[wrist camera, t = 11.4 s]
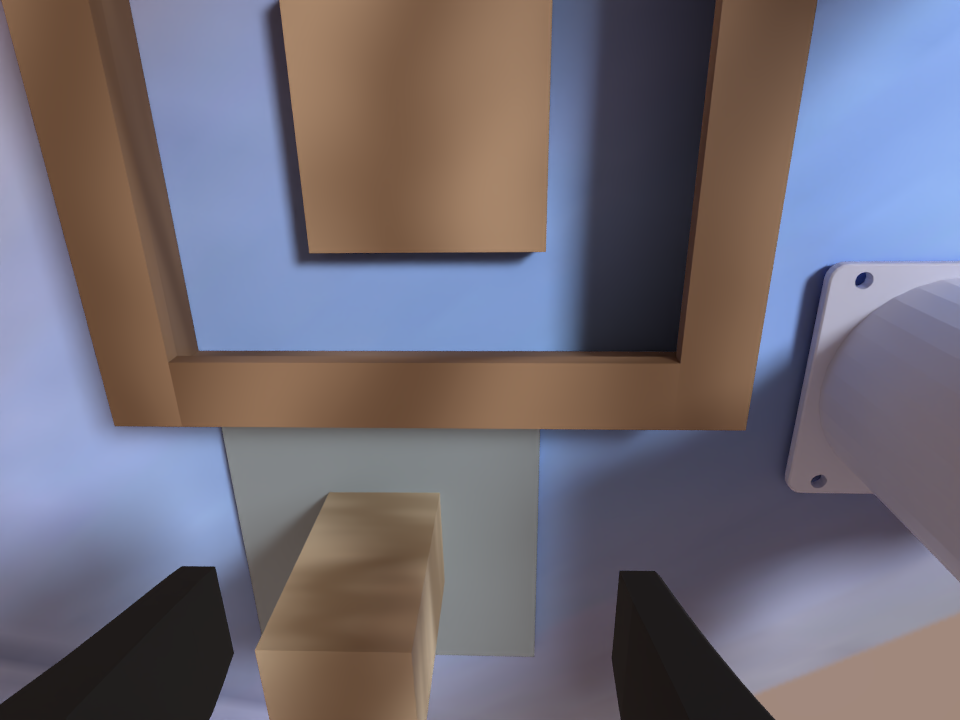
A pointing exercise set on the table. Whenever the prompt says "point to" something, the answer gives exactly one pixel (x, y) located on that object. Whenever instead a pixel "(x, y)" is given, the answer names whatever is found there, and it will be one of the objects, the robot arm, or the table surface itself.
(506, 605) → the place mat
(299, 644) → the beech block
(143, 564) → the table surface
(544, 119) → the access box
